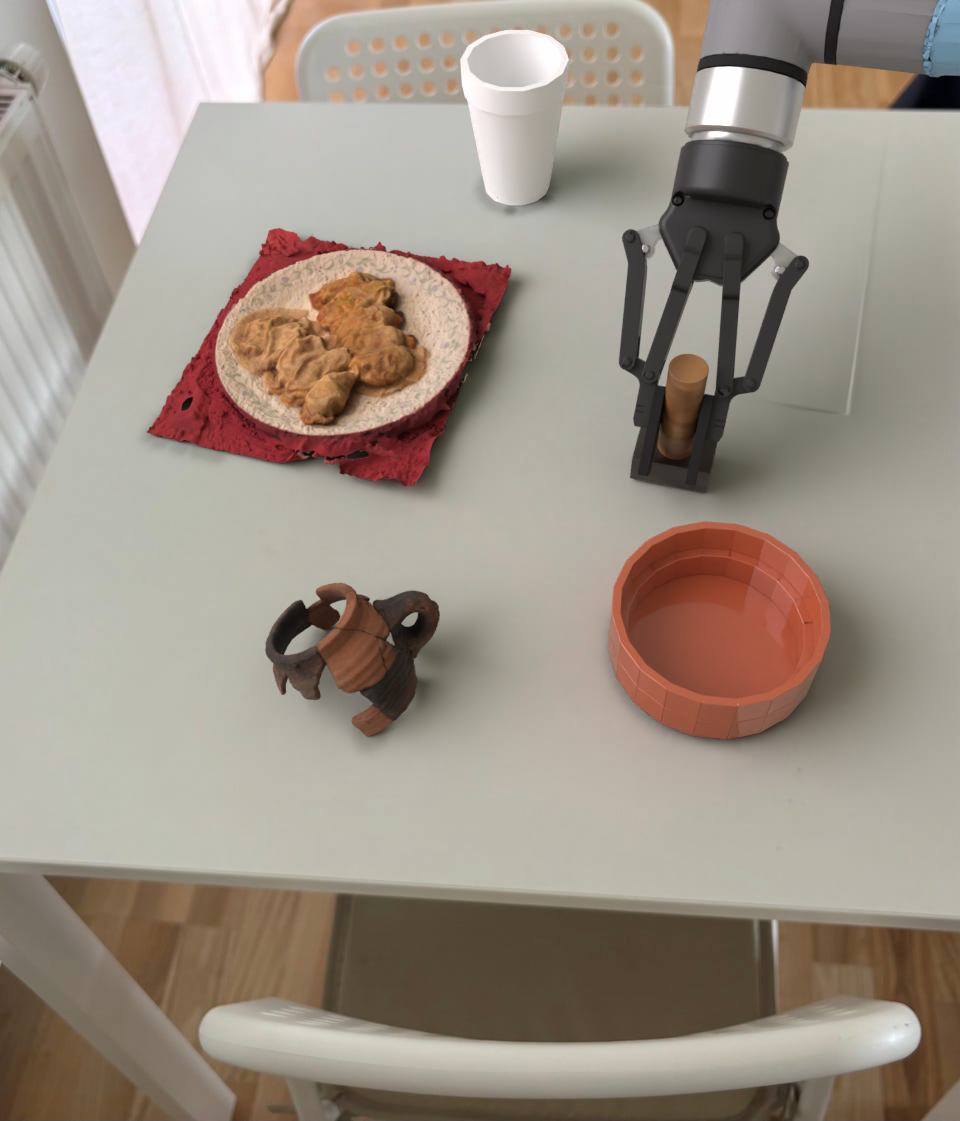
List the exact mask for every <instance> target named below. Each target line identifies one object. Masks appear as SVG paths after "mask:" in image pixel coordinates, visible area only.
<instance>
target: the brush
mask: <svg viewBox="0 0 960 1121" xmlns="http://www.w3.org/2000/svg"><path fill="white" fill-rule="evenodd" d="M709 367H710V366H709V365H708V363H707V361H706V360H705V359H704V358H702V357H701V356H700V355H696V354H692V353H681V354H679V355H676V356H675V357H673V358H672V359H671V360H670V361H669V363H668V368H667V376H666V383H665V387H666V389H665V396H664V403H663V410H662V417H661V424H660V429H659V433H658V438H657V443H656V448H655V453H654V458H653V463H652V467H651V472H650V474H649V475H648V476H643V475H638V469H639V464H640V459H641V454H642V449H643V444H644V440H645V435H646V430H647V428H642V427H639V432H638V434H637V439H636V442H635V446H634V450H633V453H632V456H631V463H630V473H629V479H631V480H637V481H643V482H647V483H653V484H658V485H663V486H667V487H673V488H678V489H683V490H688V491H691V492H699V493H702V494H707V492H708V488H709V484H710V480H711V475H712V470H713V466H714V462H715V457H716V452H717V447H718V444H719V442H717V441H712V440H706V441H705V445H704V450H703V455H702V459H701V464H700V469H699V473H698V478H697V482H696V485H695V486H694V485H689V484H685V481H686V477H687V472H688V467H689V463H690V458H691V453H692V449H693V444H694V439H695V434H696V430H697V425H698V420H699V416H700V411H701V406H702V401H703V397H704V394H706V389H707V383H708V378H709V372H710V368H709Z"/></svg>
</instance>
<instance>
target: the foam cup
mask: <svg viewBox="0 0 960 1121" xmlns="http://www.w3.org/2000/svg"><path fill="white" fill-rule="evenodd" d="M459 61H460V76H461V77H460V78H461V86H462V91H463V95H464V99H466V100H467V101H466V102H467V106H468V111H469V115H470V121H471V126H472V130H473V135H474V140H475V145H476V150H477V156H478V160H479V165H480V166H479V167H480V170H481V175H482V180H483V185H484V190H485V193H486V195H487V196H489V197H490V199H491V200H493V201H494V202H496V203H499V204H503V205H505V206H512V207H513V206H518V207H520V206H521V207H523V206H526V205H529V204H534V203H536V202H538V201H539V200H540V199H542V198H543V197H544V196H545V195H547V192H548V191H549V190H548V189H549V188H550V184H551V180H552V175H553V169H554V162H555V156H556V149H557V142H558V136H559V130H560V124H561V118H562V113H563V112H562V111H563V106H564V100H565V93H566V91H567V88H568V87H569V72H570V71H569V70H570V69H569V68H570V66H569V65H570V60H569V56H568V53H567V50H566V48H565V46H564V45H563V44H562V43H561V42H559V41H558V40H556V38H554V37H552V36H551V35H549V34H545V33H541V32H538V31H535V30H532V29H531V30H530V29H504V30H500V31H497V32H493V33H488V34H486V35H482V36H481V37H480V38H478V39H477V40H475V41H473V42H471V43H470V44H468V45H467V46H466V48H465V50H464V52H463V53H462V56H461V57H460V59H459ZM497 197H498V198H497Z"/></svg>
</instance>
